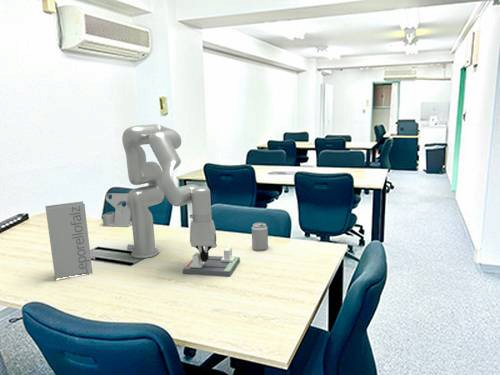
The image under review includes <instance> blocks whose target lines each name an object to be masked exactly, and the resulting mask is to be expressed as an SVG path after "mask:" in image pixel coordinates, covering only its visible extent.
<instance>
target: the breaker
mask: <svg viewBox="0 0 500 375" xmlns="http://www.w3.org/2000/svg"><path fill="white" fill-rule="evenodd" d="M222 257H223V258H222V259H221V262H233V261H234V259H235V257H236V255H233V248H232V246H231V247H230V246H229V247H227V246H226V247H225V249H224V250H223V256H222Z"/></svg>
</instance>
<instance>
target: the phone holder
mask: <svg viewBox="0 0 500 375" xmlns="http://www.w3.org/2000/svg"><path fill="white" fill-rule="evenodd" d="M128 193H129V192H126V193H125V192H124V193H123V192H122V193H119V192H118V193H116V192H114V193H112V192H109V193H106V194H105V200H106V202H107V203H109V204H110V205H111V206H112V207H113V208H114V209H115V211H109V212H106V213H103V215H102V227H104V228H105V227H110V228H113V227H115V228H130V227H131V226H132V220H131V212H130V208H129V205H128V201H127V195H128ZM110 195H111V198H109V197H110ZM123 203H125V205H124V206H123Z"/></svg>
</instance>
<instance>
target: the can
mask: <svg viewBox="0 0 500 375" xmlns="http://www.w3.org/2000/svg"><path fill="white" fill-rule="evenodd" d="M268 237H269V232H268V226H267V223H264V222H255V223H253V224H252V227H251V244H252V245H251V247H252V249H254V250H255V251H259V252H262V251H266V250H267V249H268V247H269V238H268Z"/></svg>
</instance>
